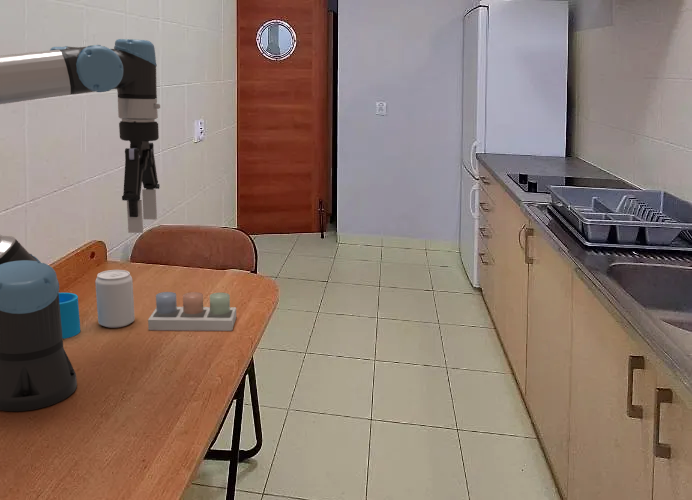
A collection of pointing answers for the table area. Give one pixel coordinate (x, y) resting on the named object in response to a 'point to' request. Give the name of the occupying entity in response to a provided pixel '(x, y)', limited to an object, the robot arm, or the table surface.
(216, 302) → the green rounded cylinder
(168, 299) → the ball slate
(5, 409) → the robot arm
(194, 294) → the button terracotta
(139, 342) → the table surface
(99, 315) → the beverage can
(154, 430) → the table surface
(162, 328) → the three-ball tray
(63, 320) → the mug
